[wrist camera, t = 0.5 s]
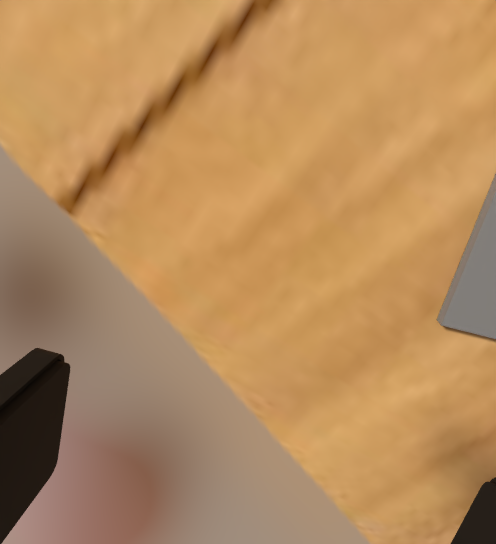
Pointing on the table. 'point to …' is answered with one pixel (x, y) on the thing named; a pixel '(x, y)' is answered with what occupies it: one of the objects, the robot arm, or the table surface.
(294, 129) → the table surface
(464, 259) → the plate
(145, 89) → the table surface
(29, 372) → the robot arm
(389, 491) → the table surface
